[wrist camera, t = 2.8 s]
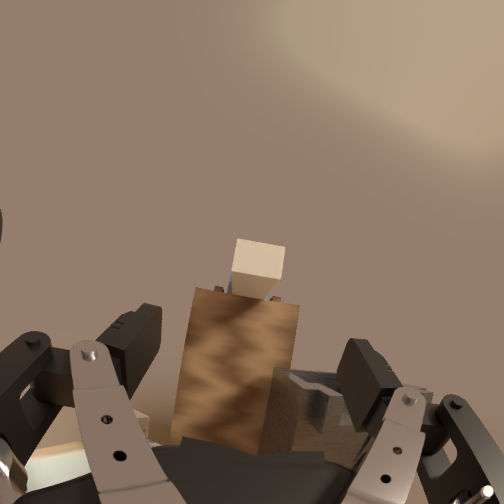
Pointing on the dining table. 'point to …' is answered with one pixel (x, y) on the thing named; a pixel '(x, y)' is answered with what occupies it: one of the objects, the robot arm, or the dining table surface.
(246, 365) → the stand
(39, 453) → the dining table surface
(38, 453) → the dining table surface
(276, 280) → the cream rectangular block
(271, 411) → the tray
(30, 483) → the dining table surface
